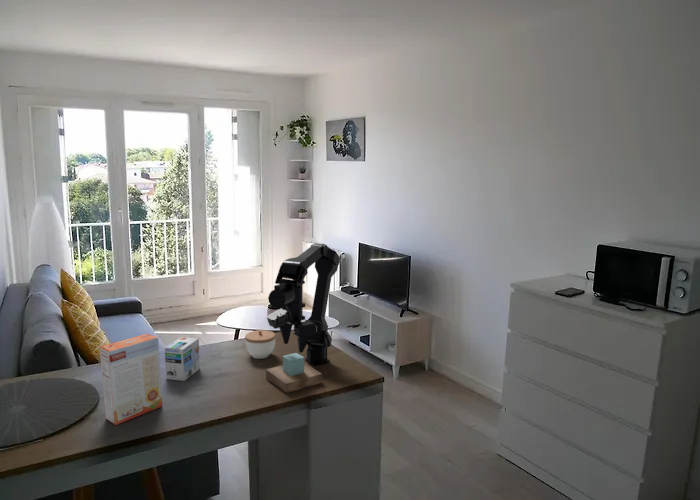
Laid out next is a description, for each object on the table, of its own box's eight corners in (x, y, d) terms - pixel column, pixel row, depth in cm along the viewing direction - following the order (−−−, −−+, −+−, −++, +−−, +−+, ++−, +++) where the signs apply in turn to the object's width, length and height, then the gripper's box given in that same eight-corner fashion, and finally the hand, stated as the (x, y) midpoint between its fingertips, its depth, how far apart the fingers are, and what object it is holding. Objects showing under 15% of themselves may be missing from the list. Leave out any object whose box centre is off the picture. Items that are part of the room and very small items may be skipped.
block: (296, 367, 168) (296, 352, 167) (304, 372, 164) (304, 357, 163) (282, 370, 165) (282, 356, 164) (290, 376, 161) (290, 361, 160)
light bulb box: (184, 381, 163) (183, 349, 161) (165, 379, 164) (163, 347, 162) (200, 368, 173) (199, 337, 171) (182, 366, 175) (181, 336, 173)
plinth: (300, 369, 174) (300, 360, 174) (321, 382, 164) (321, 373, 163) (266, 378, 166) (265, 369, 166) (286, 393, 156) (286, 383, 156)
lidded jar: (251, 349, 191) (250, 325, 190) (279, 351, 190) (278, 326, 188) (241, 360, 181) (240, 334, 179) (270, 362, 180) (270, 336, 178)
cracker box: (152, 400, 150) (148, 332, 146) (163, 407, 146) (159, 337, 143) (104, 418, 139) (98, 345, 136) (114, 426, 136) (109, 351, 132)
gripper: (256, 297, 163) (256, 344, 166) (285, 311, 148) (285, 363, 151) (286, 292, 170) (287, 337, 172) (318, 305, 155) (317, 355, 158)
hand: (293, 347), depth 163 cm, fingers open, 9 cm apart
